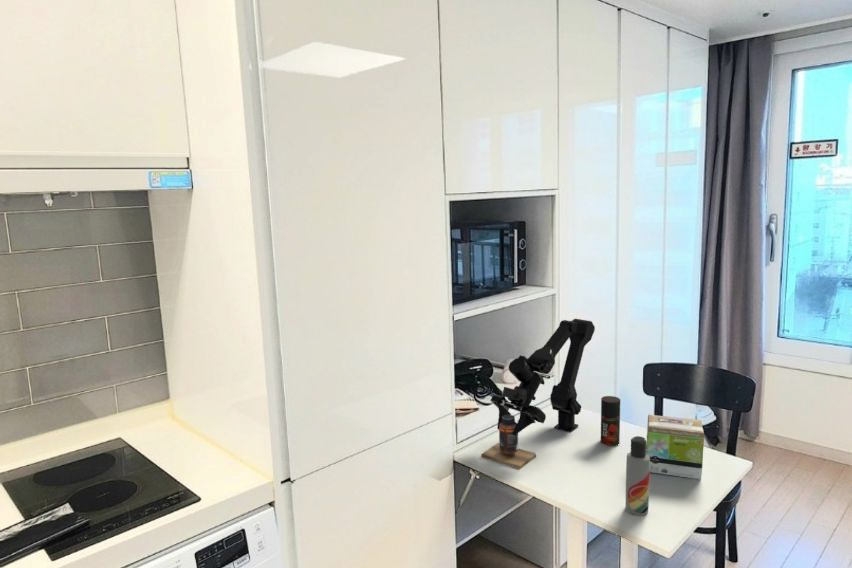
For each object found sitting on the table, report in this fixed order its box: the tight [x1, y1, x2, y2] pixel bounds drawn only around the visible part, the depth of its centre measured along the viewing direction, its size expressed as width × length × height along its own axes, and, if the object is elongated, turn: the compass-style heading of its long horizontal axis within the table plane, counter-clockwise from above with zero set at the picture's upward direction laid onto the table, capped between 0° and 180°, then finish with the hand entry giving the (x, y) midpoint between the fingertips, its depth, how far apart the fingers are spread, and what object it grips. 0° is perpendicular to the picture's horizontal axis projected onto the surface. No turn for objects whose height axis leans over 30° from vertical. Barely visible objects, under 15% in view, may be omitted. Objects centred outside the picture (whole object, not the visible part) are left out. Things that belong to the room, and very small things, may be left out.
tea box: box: [646, 414, 705, 481], centre depth 172 cm, size 15×10×15 cm
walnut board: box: [480, 442, 537, 470], centre depth 184 cm, size 10×14×1 cm
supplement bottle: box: [498, 414, 519, 454], centre depth 183 cm, size 6×6×11 cm
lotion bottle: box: [625, 435, 651, 516], centre depth 150 cm, size 6×6×20 cm
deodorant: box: [600, 395, 621, 447], centre depth 191 cm, size 6×6×15 cm
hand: (505, 431), depth 182 cm, fingers closed on supplement bottle, 6 cm apart
